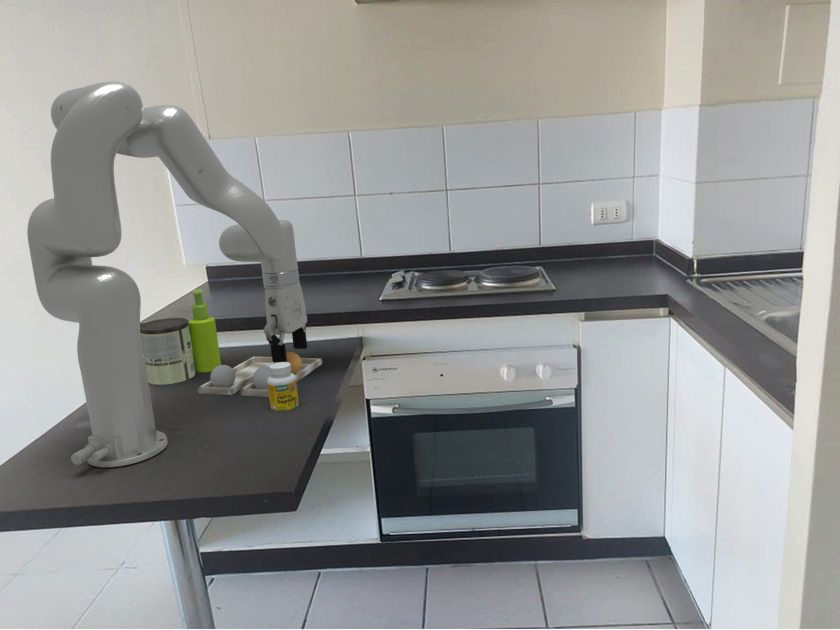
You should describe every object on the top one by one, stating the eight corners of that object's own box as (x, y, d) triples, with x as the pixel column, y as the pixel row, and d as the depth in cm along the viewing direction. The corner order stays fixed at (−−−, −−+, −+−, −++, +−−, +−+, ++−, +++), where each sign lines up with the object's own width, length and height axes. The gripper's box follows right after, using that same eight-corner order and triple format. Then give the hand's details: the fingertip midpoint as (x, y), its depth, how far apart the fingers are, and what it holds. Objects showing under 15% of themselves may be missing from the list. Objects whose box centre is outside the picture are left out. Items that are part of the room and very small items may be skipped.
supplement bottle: (293, 405, 122) (288, 358, 120) (304, 413, 117) (299, 365, 115) (267, 412, 119) (261, 364, 117) (276, 420, 114) (271, 371, 112)
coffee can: (145, 382, 142) (135, 322, 139) (191, 373, 147) (183, 315, 144) (151, 394, 133) (141, 331, 130) (200, 384, 138) (192, 323, 135)
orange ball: (295, 377, 134) (293, 355, 133) (275, 377, 135) (272, 355, 134) (306, 370, 138) (303, 349, 137) (286, 370, 140) (283, 348, 139)
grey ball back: (228, 392, 127) (225, 369, 126) (207, 391, 128) (203, 368, 127) (241, 384, 131) (238, 362, 130) (220, 383, 133) (217, 361, 132)
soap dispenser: (221, 367, 150) (210, 286, 145) (222, 375, 143) (211, 291, 139) (195, 371, 148) (183, 289, 143) (196, 379, 142) (183, 294, 137)
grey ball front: (271, 394, 124) (269, 371, 123) (249, 393, 125) (246, 370, 124) (283, 386, 129) (281, 363, 128) (262, 385, 130) (259, 362, 129)
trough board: (276, 406, 122) (275, 393, 121) (193, 401, 127) (192, 389, 127) (326, 368, 144) (325, 357, 144) (254, 365, 150) (253, 355, 149)
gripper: (277, 287, 123) (287, 368, 127) (314, 271, 139) (322, 343, 143) (244, 287, 125) (255, 367, 129) (284, 271, 141) (293, 343, 145)
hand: (290, 355), depth 136 cm, fingers open, 9 cm apart
